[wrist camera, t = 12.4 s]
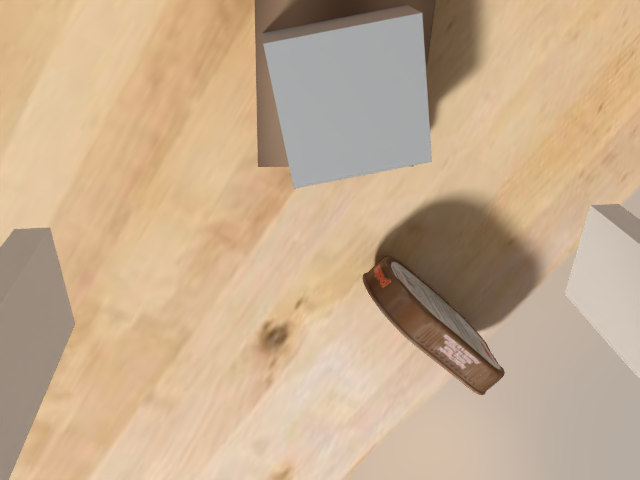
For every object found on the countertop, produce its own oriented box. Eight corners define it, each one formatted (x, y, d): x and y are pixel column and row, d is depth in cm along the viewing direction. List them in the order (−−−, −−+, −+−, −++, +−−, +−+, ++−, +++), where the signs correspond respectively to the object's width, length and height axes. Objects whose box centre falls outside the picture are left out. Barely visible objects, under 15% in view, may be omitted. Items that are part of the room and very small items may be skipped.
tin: (352, 258, 46) (371, 321, 38) (380, 234, 45) (404, 293, 37) (459, 347, 52) (492, 416, 45) (485, 327, 51) (523, 394, 44)
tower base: (257, 148, 40) (258, 166, 37) (254, -14, 35) (254, -8, 32) (402, 148, 42) (413, 166, 39) (420, -8, 36) (435, -2, 33)
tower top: (290, 167, 38) (293, 188, 35) (262, 33, 33) (263, 43, 30) (417, 142, 38) (431, 161, 35) (407, 4, 33) (422, 12, 30)
